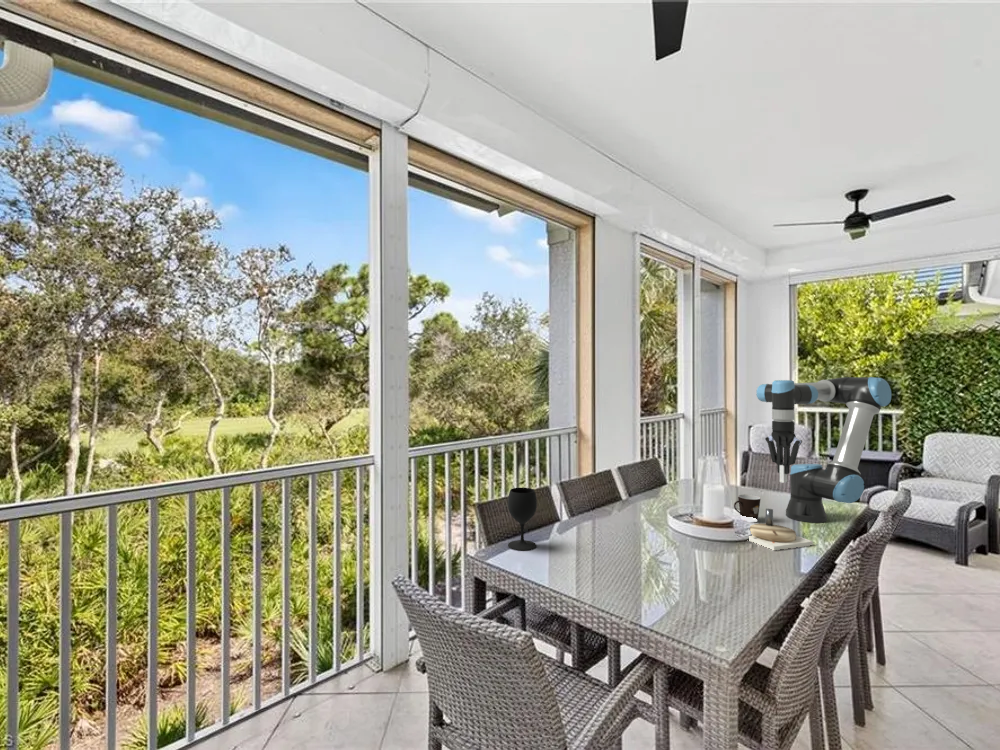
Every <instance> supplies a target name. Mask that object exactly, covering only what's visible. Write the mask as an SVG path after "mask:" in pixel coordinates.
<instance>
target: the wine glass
mask: <svg viewBox="0 0 1000 750" xmlns="http://www.w3.org/2000/svg"><path fill="white" fill-rule="evenodd" d="M507 498H508V499H507V508H508V512H509V514H510V516H511V517H512V518H513V520H515V521H516V522H518V523H519V526H520V539H517V540H512V541H510V542H508V543H507V548H509V549H511V550H513V551H518V552H528V551H533V550H535V549H536V548H537V546H538V545H537V543H535V542H534V541H531V540H527V539H525V538H524V535H525V533H524V531H525V529H524V528H525V524H526V523H527V522H529V521H530V520H531V519H532V518H533V517H534V515H535V514H536V511H537V507H538V499H537V494H536V491H535V489H533V488H531V487H514V488H511V489H510V490H509V494H508V497H507Z"/></svg>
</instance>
